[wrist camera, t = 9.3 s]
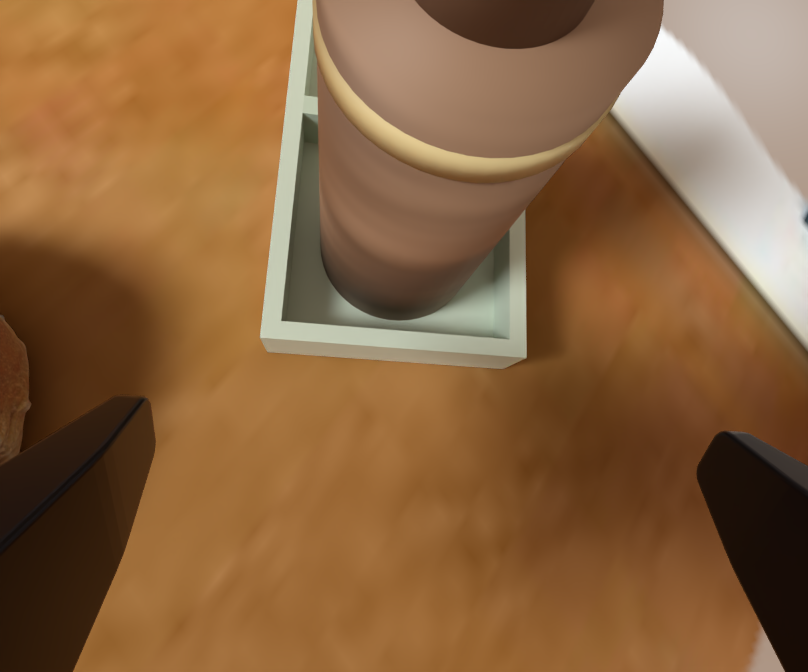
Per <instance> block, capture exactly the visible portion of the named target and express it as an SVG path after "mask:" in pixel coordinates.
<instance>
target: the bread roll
mask: <svg viewBox="0 0 808 672" xmlns="http://www.w3.org/2000/svg"><path fill="white" fill-rule="evenodd" d="M28 398H29V363H28V358H27V351H26V347H25V345H24V343H23V342H22V341H21V340H20V339H18V337H17V336H16V334H15V332H14V330H13V329H12V328H11V327H10V325H8V324H7V323H6V321H5V318H4V316H3V315H0V465H1V464H3V463H4V462H6V461H8V460H9V459H11V458H13V457H14V456H16V455H18V454H19V450H20V446H21V442H22V438H23V423H24V418H25V413H26V412H27V411H28V410H29V409H30V407H31V402H30V401H29V399H28Z"/></svg>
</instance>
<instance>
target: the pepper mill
mask: <svg viewBox="0 0 808 672" xmlns="http://www.w3.org/2000/svg"><path fill="white" fill-rule="evenodd" d="M663 1H664V0H312V7H313V36H314V49H315V54H316V58H317V90H318V145H319V200H320V248H321V258H322V262H323V266H324V269H325V272H326V274H327V276H328V278H329V280H330V282H331V284H332V285H333V286H334V288H335V289H336V291H337V292H338V293H339V294H340V295H341V296H342V297H343V298H344V299H345V300H346V301H347V302H349V303H350V304H351V305H352V306H354V307H355V308H357V309H359V310H360V311H362V312H364V313H366V314H369V315H371V316H374V317H377V318H381V319H386V320H396V321H403V320H413V319H418V318H421V317H424V316H427V315H430V314H432V313H434V312H436V311H437V310H439V309H440V308H442V307H443V306H445V305H446V304H447V303H448V302H449V301H450V300H451V299H452V298H453V297H454V296H455V295H456V294H457V292H458V291H459V290H460V289H461V287H462V286H463V285H464V284H465V283H466V281H467V280H468V279H469V278H470V276H471V275H472V274H473V273H474V272H475V270H476V269H477V268H478V267H479V265H480V264H481V263H482V262H483V260H484V259H485V258H486V257H487V256H488V254H489V253H490V252H491V251H492V249H493V248H494V247H495V246H496V245H497V243H498V242H499V241H500V240H501V238H502V237H503V236H504V235H505V234H506V232H507V231H508V230H509V229H510V227H511V226H512V225H513V224H514V222H515V221H516V220H517V219H518V218H519V216H520V215H521V214H522V213H523V211H524V210H525V209H526V208H527V207H528V205H529V204H530V203H531V202H532V200H533V199H534V198H535V197H536V196H537V194H538V193H539V192H540V191H541V189H542V188H543V187H544V186H545V185H546V183H547V182H548V181H549V180H550V178H551V177H552V176H553V175H554V173H555V172H556V171H557V170H558V169H559V167H560V166H561V165H562V164H563V162H564V161H565V160H566V159H567V158H568V157H569V156H570V155H571V154H572V153H573V152H575V151H576V150H577V149H578V148H579V147H580V146H581V145H582V144H583V143H584V142H585V140H586V139H587V138H588V137H589V136H590V134H591V133H592V132H593V131H594V130H595V128H596V127H597V126H598V125H599V123H600V122H601V121H602V120H603V119H604V117H605V116H606V115H607V114H608V113H609V111H610V110H611V109H612V107H613V105H614V104H615V102H616V100H617V99H618V97H619V95H620V93H621V91H622V90H623V89H624V88H625V86H626V85H627V84H628V83H629V82H630V80H631V79H632V78H633V77H634V75H635V74H636V73H637V72H638V71H639V69H640V68H641V67H642V66H643V64H644V63H645V61H646V60H647V58H648V56H649V54H650V53H651V51H652V49H653V47H654V45H655V42H656V39H657V37H658V34H659V31H660V26H661V21H662V16H663Z"/></svg>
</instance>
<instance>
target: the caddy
mask: <svg viewBox="0 0 808 672" xmlns="http://www.w3.org/2000/svg"><path fill="white" fill-rule="evenodd" d="M260 339H261V341H262V342H263V344H264V346H265V348H266V350H267V352H274V353H288V354H302V355H316V356H329V357H343V358H357V359H371V360H385V361H398V362H412V363H426V364H440V365H454V366H467V367H481V368H495V369H504V368H506V367H509V366H511V365H513V364H515V363H517V362H519V361H521V360H523V359H525V358H527V345H526V230H525V210H524V211H523V213H522V214H521V215H520V216H519V218H518V219H517V220H516V221H515V222H514V224H513V225H512V226H511V227H510V229H509V230H508V231H507V232H506V234H505V235H504V236H503V237H502V238H501V240H500V241H499V242H498V243H497V245H496V246H495V247H494V248H493V249H492V251H491V252H490V253H489V254H488V256H487V257H486V258H485V259H484V260H483V262H482V263H481V264H480V265H479V267H478V268H477V269H476V270H475V272H474V273H473V274H472V275H471V276H470V278H469V279H468V280H467V281H466V283H465V284H464V285H463V286H462V287H461V289H460V290H459V291H458V292H457V294H456V295H455V296H454V297H453V298H452V299H451V300H450V301H449V302H448V303H447V304H446V305H445V306H443V307H442V308H440V309H439V310H437V311H436V312H434V313H432V314H430V315H427V316H424V317H421V318H418V319H413V320H403V321H396V320H386V319H381V318H377V317H374V316H371V315H369V314H366V313H364V312H362V311H360V310H359V309H357V308H355V307H354V306H352V305H351V304H350V303H349V302H347V301H346V300H345V299H344V298H343V297H342V296H341V295H340V294H339V293H338V292H337V291H336V289H335V288H334V286H333V285H332V284H331V282H330V280H329V278H328V276H327V274H326V272H325V269H324V266H323V262H322V258H321V248H320V200H319V145H318V90H317V58H316V54H315V49H314V36H313V7H312V0H298V2H297V11H296V20H295V29H294V38H293V47H292V56H291V65H290V74H289V83H288V92H287V101H286V109H285V118H284V127H283V136H282V145H281V154H280V163H279V172H278V181H277V190H276V199H275V208H274V217H273V226H272V234H271V243H270V252H269V261H268V270H267V279H266V288H265V297H264V306H263V315H262V324H261V333H260Z"/></svg>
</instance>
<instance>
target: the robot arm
mask: <svg viewBox="0 0 808 672" xmlns="http://www.w3.org/2000/svg"><path fill="white" fill-rule="evenodd" d="M155 443H156V440H155V432H154V425H153V417H152V410H151V404H150V402H149V399H148V398H146V397H145V396H137V395H116V396H114V397H112V398H110V399H108V400H107V401H105V402H103V403H102V404H100V405H98V406H97V407H95V408H93V409H92V410H90V411H89V412H87V413H85V414H84V415H82V416H80V417H79V418H77V419H75V420H74V421H72V422H70V423H69V424H67V425H65V426H64V427H62V428H61V429H59V430H57V431H56V432H54V433H52V434H51V435H49V436H47V437H46V438H44V439H42V440H41V441H39V442H37V443H36V444H34V445H32V446H31V447H29V448H28V449H26V450H24V451H23V452H21V453H19V454H18V455H16V456H14V457H13V458H11V459H9V460H8V461H6V462H4V463H3V464H1V465H0V672H73V670H74V668H75V666H76V663H77V661H78V659H79V656H80V654H81V652H82V650H83V647H84V645H85V643H86V640H87V638H88V636H89V633H90V631H91V629H92V627H93V624H94V622H95V620H96V617H97V615H98V613H99V610H100V608H101V606H102V604H103V601H104V599H105V597H106V594H107V592H108V590H109V587H110V585H111V583H112V581H113V578H114V576H115V574H116V571H117V569H118V566H119V564H120V561H121V559H122V556H123V554H124V551H125V548H126V545H127V542H128V539H129V536H130V532H131V529H132V526H133V523H134V519H135V516H136V513H137V509H138V506H139V503H140V499H141V496H142V493H143V490H144V486H145V483H146V480H147V476H148V473H149V470H150V467H151V463H152V460H153V457H154V452H155ZM697 480H698V483H699V486H700V488H701V491H702V493H703V496H704V498H705V501H706V503H707V506H708V508H709V511H710V513H711V516H712V518H713V521H714V523H715V526H716V528H717V531H718V533H719V536H720V538H721V541H722V543H723V546H724V549H725V551H726V553H727V556H728V558H729V560H730V563H731V565H732V567H733V569H734V572H735V574H736V576H737V578H738V580H739V582H740V584H741V586H742V588H743V590H744V592H745V594H746V596H747V598H748V600H749V602H750V604H751V606H752V608H753V610H754V612H755V613H756V615H757V617H758V619H759V621H760V623H761V625H762V627H763V629H764V631H765V633H766V635H767V637H768V639H769V641H770V643H771V645H772V647H773V649H774V651H775V653H776V655H777V657H778V659H779V661H780V663H781V665H782V667H783V669H784V670H785V672H808V466H807V465H805V464H803V463H801V462H799V461H798V460H796V459H794V458H792V457H790V456H789V455H787V454H785V453H783V452H781V451H780V450H778V449H776V448H774V447H772V446H771V445H769V444H767V443H765V442H763V441H762V440H760V439H758V438H756V437H754V436H753V435H751V434H749V433H745V432H737V431H722V432H719V433H718V434H717V435H716V436H715V437H714V438H713V440H712V442H711V443H710V445H709V447H708V449H707V450H706V452H705V454H704V456H703V457H702V459H701V461H700V462H699V464H698V467H697Z"/></svg>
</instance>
